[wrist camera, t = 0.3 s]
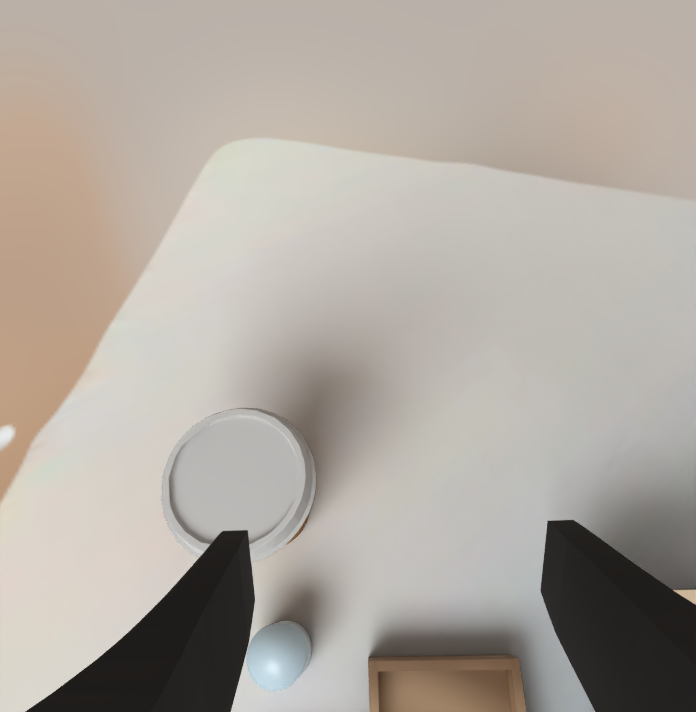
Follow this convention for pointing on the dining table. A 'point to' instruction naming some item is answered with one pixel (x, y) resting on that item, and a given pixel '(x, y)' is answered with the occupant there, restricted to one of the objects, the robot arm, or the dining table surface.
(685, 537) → the dining table surface
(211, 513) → the disposable coffee cup
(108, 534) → the dining table surface
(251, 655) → the pale blue capsule
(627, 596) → the robot arm
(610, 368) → the dining table surface
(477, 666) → the tray
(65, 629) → the dining table surface
